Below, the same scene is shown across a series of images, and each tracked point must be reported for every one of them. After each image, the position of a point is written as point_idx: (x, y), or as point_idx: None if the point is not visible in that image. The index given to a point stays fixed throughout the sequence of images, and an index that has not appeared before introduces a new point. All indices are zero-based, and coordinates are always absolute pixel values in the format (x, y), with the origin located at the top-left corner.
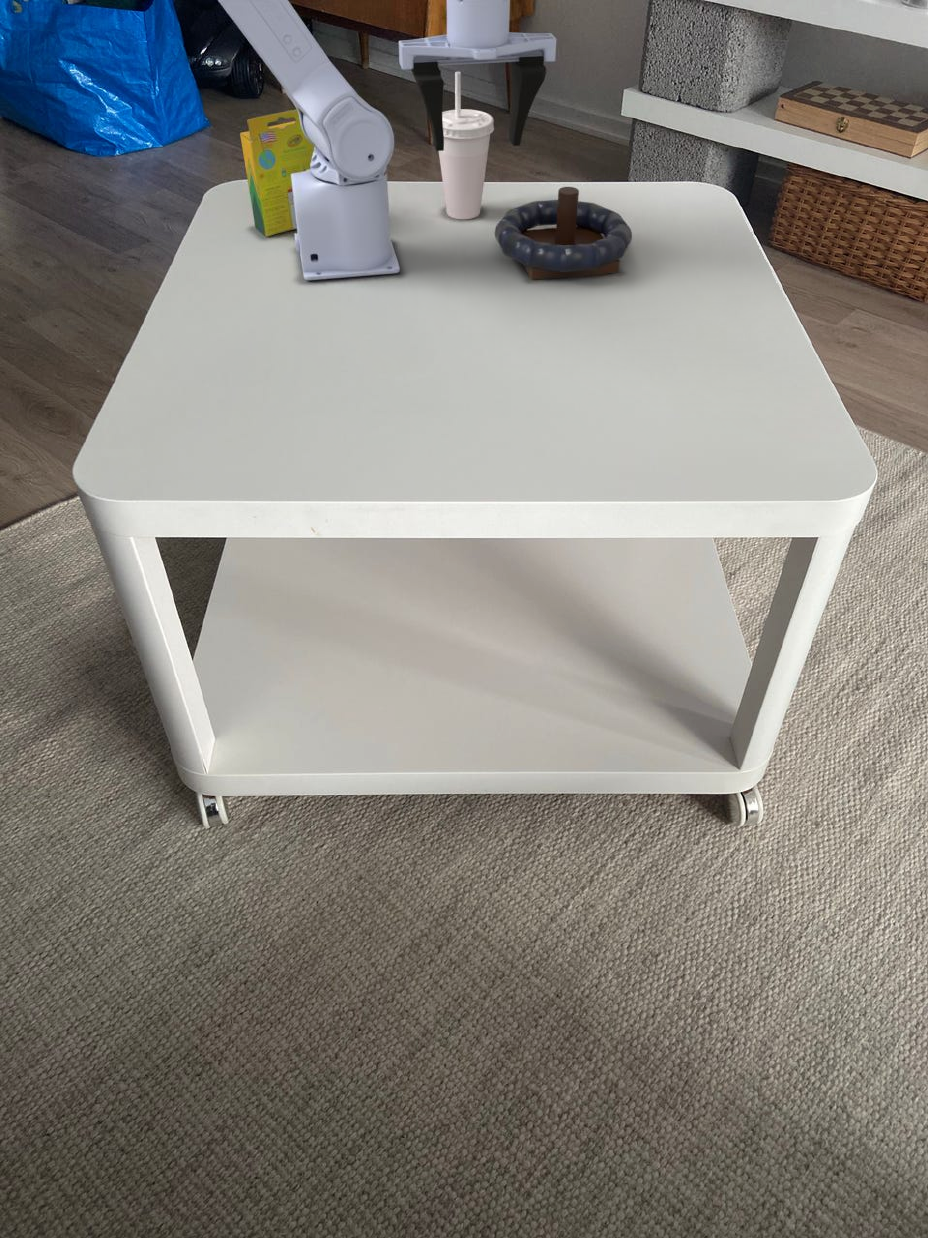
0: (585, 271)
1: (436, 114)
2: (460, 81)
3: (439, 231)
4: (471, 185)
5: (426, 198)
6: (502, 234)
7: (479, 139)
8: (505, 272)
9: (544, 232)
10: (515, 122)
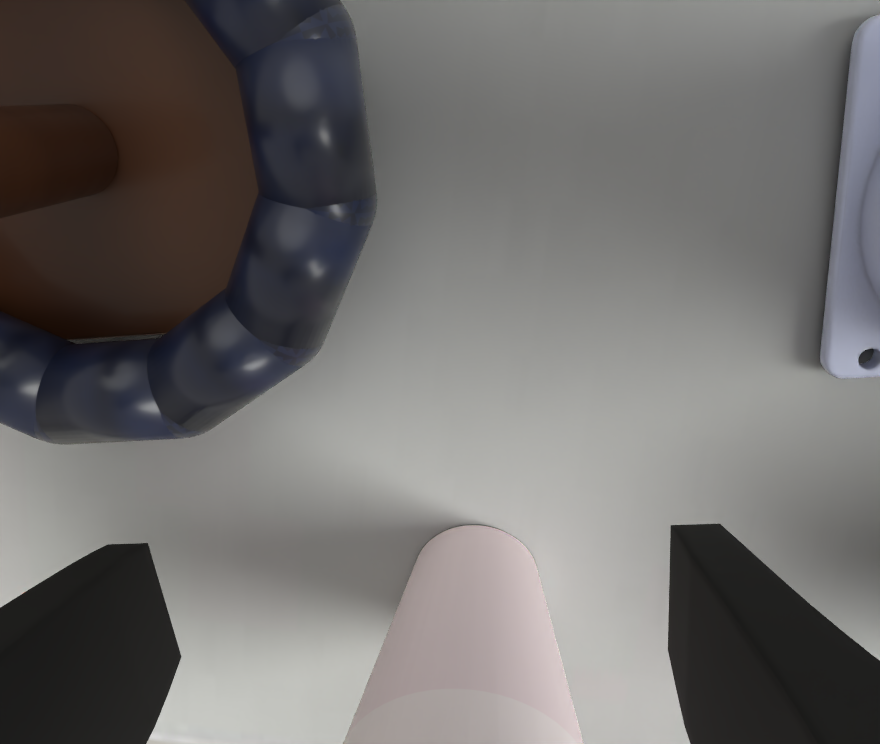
0: None
1: (876, 708)
2: None
3: (589, 438)
4: (442, 599)
5: (594, 697)
6: (339, 84)
7: None
8: (357, 9)
9: (164, 293)
10: (46, 658)
